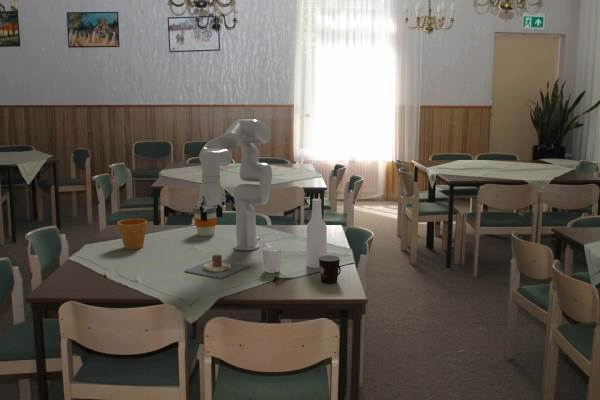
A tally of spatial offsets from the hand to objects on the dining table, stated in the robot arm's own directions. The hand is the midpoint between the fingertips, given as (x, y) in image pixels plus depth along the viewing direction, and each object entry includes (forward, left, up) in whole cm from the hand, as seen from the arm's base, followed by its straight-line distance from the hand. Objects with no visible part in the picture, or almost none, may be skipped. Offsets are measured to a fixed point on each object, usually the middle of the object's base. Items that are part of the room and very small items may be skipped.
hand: (211, 219), depth 268 cm
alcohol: (-26, +37, -22) cm, 51 cm away
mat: (0, +2, -22) cm, 22 cm away
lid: (0, +2, -22) cm, 22 cm away
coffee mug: (-8, +53, -22) cm, 58 cm away
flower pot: (-9, -57, -22) cm, 61 cm away
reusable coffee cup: (-48, -43, -22) cm, 68 cm away
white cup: (-10, +24, -22) cm, 34 cm away
